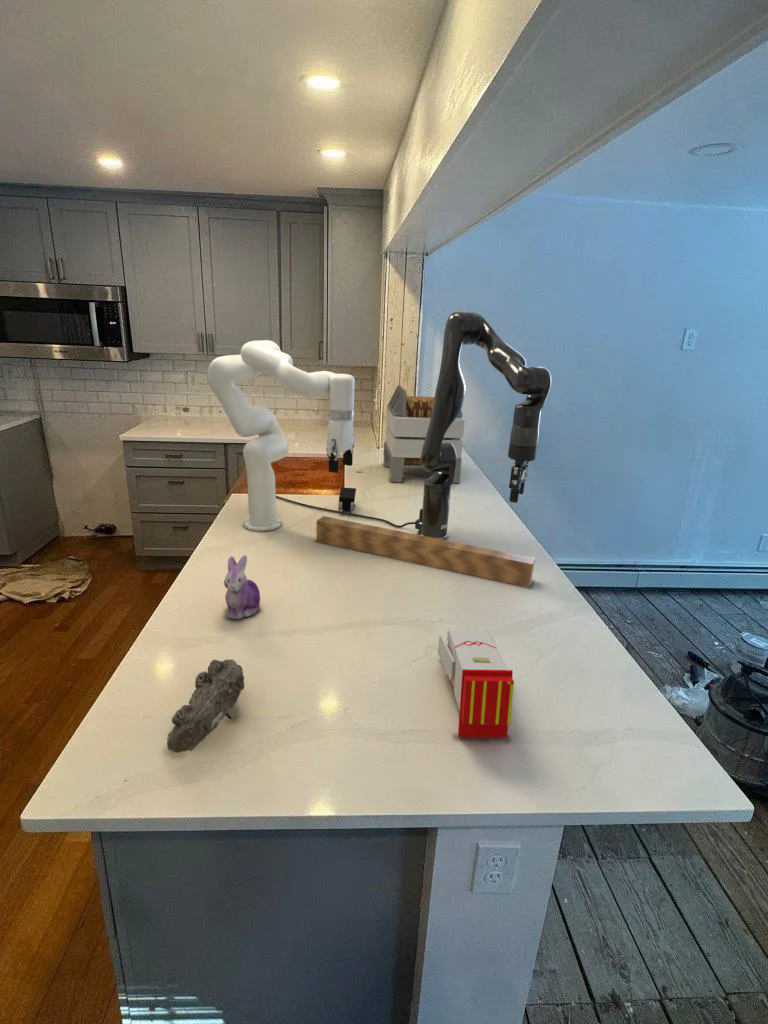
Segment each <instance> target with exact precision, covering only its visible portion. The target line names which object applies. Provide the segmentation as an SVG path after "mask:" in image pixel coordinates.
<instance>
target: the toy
mask: <svg viewBox="0 0 768 1024" xmlns="http://www.w3.org/2000/svg"><path fill="white" fill-rule="evenodd" d="M446 640H447V643H446V641H445V639H444V636H443V635H442V634H439V637H438V646H437V656H438V657H439V659H440V661H441V663H442V666H443V668H444V670H445V672H446V674H447V677H448V679H449V681H450V684H451V687H452V690H453V693H454V697H455V701H456V705H457V708H458V711H459V714H458V715H459V716H458V730H457V731H458V732H457V737H458V738H508V731H509V726H510V725H511V717H512V707H513V697H514V696H513V695H514V684H515V680H514V679H513V673H514V671H513V670H512V669H508V667H507V665H506V662H505V661H504V659H503V658H502V655H501V653H500V651H499V649H498V647H497V643H496V639H495V637H494V635H493V634H491V632H490V631H489V629H467V628H466V629H465V628H463V629H461V628H460V629H459V628H448V630H447V639H446Z"/></svg>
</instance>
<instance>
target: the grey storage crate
mask: <svg viewBox="0 0 768 1024" xmlns="http://www.w3.org/2000/svg"><path fill="white" fill-rule="evenodd" d="M407 394H408V393H407V390H406V389H404V388H403V387H402V385H399V384H398V385H397V386H396V388H395V390H394V392H393V394H392V395H391V398H390V400H389V402H388V404H387V405H386V413H385V414H386V415H385V423H386V428H385V438H384V442H383V466H384V467H388V468H389V475H388V476H389V477H388V478H389V480H390V482H391V483H402V482H403V475H404V469H405V466H406V467H407V466H411V467H412V466H413V467H415V466H416V467H417V466H418V467H422V464H421V452H422V448H423V444H424V441H425V437H426V434H427V431H428V427H429V423H430V419H431V414H432V409H433V404H434V397H435V396H415V395H414V396H413V395H412V396H411V395H407ZM464 429H465V419H464V418H463V411H462V410H461V411H460V413H459V414H458V416H457V417H456V419H455V420H454V422H453V423H452V424H451V425H450V427H449V428H448V430H447V431H446V433H445V435H444V438H443V441H442V443H450V444H452V445H453V446H454V448H455V450H456V457H457V459H456V468H455V475H454V481H453V484H455V483H456V484H459V483H461V472H462V461H463V460H462V453H463V442H464V441H463V440H462V439H463V438H464V431H465V430H464Z"/></svg>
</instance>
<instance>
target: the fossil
mask: <svg viewBox="0 0 768 1024" xmlns="http://www.w3.org/2000/svg"><path fill="white" fill-rule="evenodd" d="M243 670H244V669H243V667H242V665H240V664H237V662H236V661H235V660H234V659H232V658H231V659H227V658H226V659H224V660H223V661H222V660H217V659H212V660H211V661H210V663H209V665H208V666H207V671H201V672H199V673H198V674H197V675H196V676H195V680H194V684H195V685H194V687H195V689H194V690H193V693H192V694H191V697H190V698H189V700H188V704H184V705H182V706H181V707H180V709H177V710H176V711H175V713H174V715H173V716H172V718H171V723H172V724H173V727H172V730H171V731H170V732H168V734H167V738H166V741H167V742H166V745H167V749H168V750H169V751H173V752H174V753H176V754H178V753H182V752H188V751H189V752H192V751H193V750H195V748H196V747H197V746H199V744H200V743H201V742H203V741H204V740H205V739H206V738H207V737H208V736H209V735H210V734H211V733H212V732H214V730H215V729H217V727H218V726H219V724H220V722H221V721H222V720H223V719H224V718H225V716H226V717H227V719H229V720H233V717H232V715H230V714H229V710H230V709H231V708H234V706H235V704H236V703H237V702H238V699H239V697H240V695H241V693H242V691H243V690H245V689H244V688H245V675H244V671H243Z"/></svg>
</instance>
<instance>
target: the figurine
mask: <svg viewBox="0 0 768 1024" xmlns="http://www.w3.org/2000/svg"><path fill="white" fill-rule="evenodd" d="M247 562H248V556H247V555H246V554H243V556H242V557H241V558H240V559H239V560H238V561H236V560H235V557H234V556H232V555H231V556H230V557H228V560H227V573H226V575H225V576H224V577H225V578H224V580H223V585H224V588H226V589H227V590H226V593H225V595H224V596H225V597H224V599H225V603H226V607H227V612H226V617H227V618H230V619H234V620H235V619H236V620H240V619H243V618H248V617H250V616H252V615H254V614H256V613H257V612H259V610H260V603H261V592H260V589H259V587H258V584H256V582H255V581H253V580H250V579H248V578H247V576H246V573H245V570H246V567H247Z"/></svg>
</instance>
